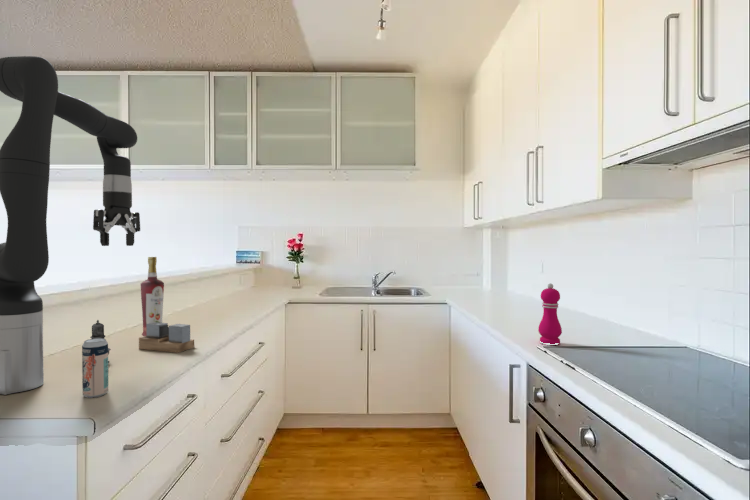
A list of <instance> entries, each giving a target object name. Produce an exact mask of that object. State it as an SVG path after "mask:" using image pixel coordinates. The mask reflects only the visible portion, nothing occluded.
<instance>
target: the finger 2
mask: <svg viewBox="0 0 750 500" xmlns="http://www.w3.org/2000/svg"><path fill="white" fill-rule="evenodd" d="M168 337H169V342H175V343H184V342H188V341H190V339H191V324H185V323H175V324H171V325H168Z"/></svg>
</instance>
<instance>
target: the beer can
mask: <svg viewBox="0 0 750 500" xmlns="http://www.w3.org/2000/svg"><path fill="white" fill-rule="evenodd" d="M108 348H109V343H108V341H107V339H106V338H105V337H104V338H96V339H91V338H90V339H86V340H84V341H83V343H82V346H81V363H82V364H81V368H82V369H81V374H82V376H81V379H82V382H81V383H82V396H83V397H86V398H87V397H88V398H90V399H91V398H92V399H95V398H98V397H99V396H100V397H102V396H104V395H106V394H107V393H108V392H109V363H108V361H109V355H108ZM93 397H94V398H93Z"/></svg>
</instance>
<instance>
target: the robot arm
mask: <svg viewBox="0 0 750 500" xmlns="http://www.w3.org/2000/svg"><path fill="white" fill-rule="evenodd" d="M0 92H1V93H2V94H3V95H6V97H9V98H11V99H14V100H16V101H18V102H21V103H22V105H21V111H20V115H19V117H18V120H17V122H16V123H15V125H14V126H13V128H12V129H11V131H10V132H9V134H8V135H7V137H6V138H5V139H4V141H3V143H2V145H1V146H0V197H1V198H2V201H3V205H4V208H5V212H6V216H7V217H6V218H7V228H6V229H7V231H6V237H5V238H6V240H5V242H1V243H0V395H5V396H6V395H10V394H14V393H19V392H20V393H22V392H25V391H29V390H33V389H37V388H38V387H41V386H42V385H44V382H45V381H44V379H45V378H44V375H45V373H44V324H43V323H44V319H43V318H44V317H43V316H44V312H43V311H44V310H43V309H44V304H43V299H42V298H41V296H39V294H38V293H37V291H36V290H37V289H36V288H35V287H36V286H35V282H36V281H39V280H40V278H42V277H43V276H44V275H45V273H46V271H47V269H48V266H49V258H50V257H49V245H48V230H47V228H48V227H47V215H48V214H47V213H48V199H49V197H48V195H49V185H50V170H51V169H50V167H51V166H50V165H51V158H50V157H51V142H52V141H51V140H52V132H53V130H52V129H53V122H54V116H56V117H58V118H60V119H62V120H64V121H66V122H68V123H69V124H72V125H73V126H75V127H77V128H78V129H81V130H82V131H84V132H86V133H87V134H89V135H90V136H93V137H96V142H97V145H98V147H99V150H100V154H101V158H102V160H103V179H102V180H103V181H102V206H103V208H104V209H94V210H93V220H92V221H93V222H92V223H93V224H92V229H93V231H97V232H99V243H100V244H101V246H103V247H109V245H110V233H109V232H110V230H111V229H112V228H113V227H114V226H120V227H121V228H123V229H124V231H125V232H126V233H125V245H126V247H129V246H131V247H133V246H134V245H135V234H136V233H137V232H141V219H140V217H141V216H140V212H139V211H138V212H134V211H133V212H131V208H133V194H132V193H133V185H132V177H131V176H132V174H131V173H132V167H131V166H132V165H131V164H132V163H131V159H130V158H128V157H127V156H122V155H120V154H119V153H118V150H117V149H130V148H133V147H134V146H135V145H136V144H137V142H138V134H137V132H136V130H135V129H134V128H133V126H131V125H130V124H129V123H127V122H125V121H123V120H121V119H118V118H116V117H114V116H111V115H108V114H105V113H104V112H102V111H101V110H100V109H98V108H97V107H95V106H94V105H92V104H91V103H88V102H87V101H84V100H83V99H80V98H77V97H74V96H71V95H69V94H67V93H63V92H61V91H59V79H58V74H57V72H56V69H55V67H54V66H53V64H52V63H51V62H50V61H49V60H48V59H46V58H44V57H41V56H37V55H36V56H34V55H33V56H32V55H30V56H26V55H24V56H20V55H19V56H6V57H1V58H0Z"/></svg>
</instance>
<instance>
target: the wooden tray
mask: <svg viewBox="0 0 750 500" xmlns="http://www.w3.org/2000/svg"><path fill="white" fill-rule="evenodd" d="M193 348H195V339H193V338H190V341H188V342H184V343H175V342H169V337H165V338H161V339H154V338H147V336H143V335H142V336H141V337H138V350H148V351H156V352H157V351H159V352H166V353H167V352H169V353H176V354H177V353H181V352H184V351H187V350H192V349H193Z"/></svg>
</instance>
